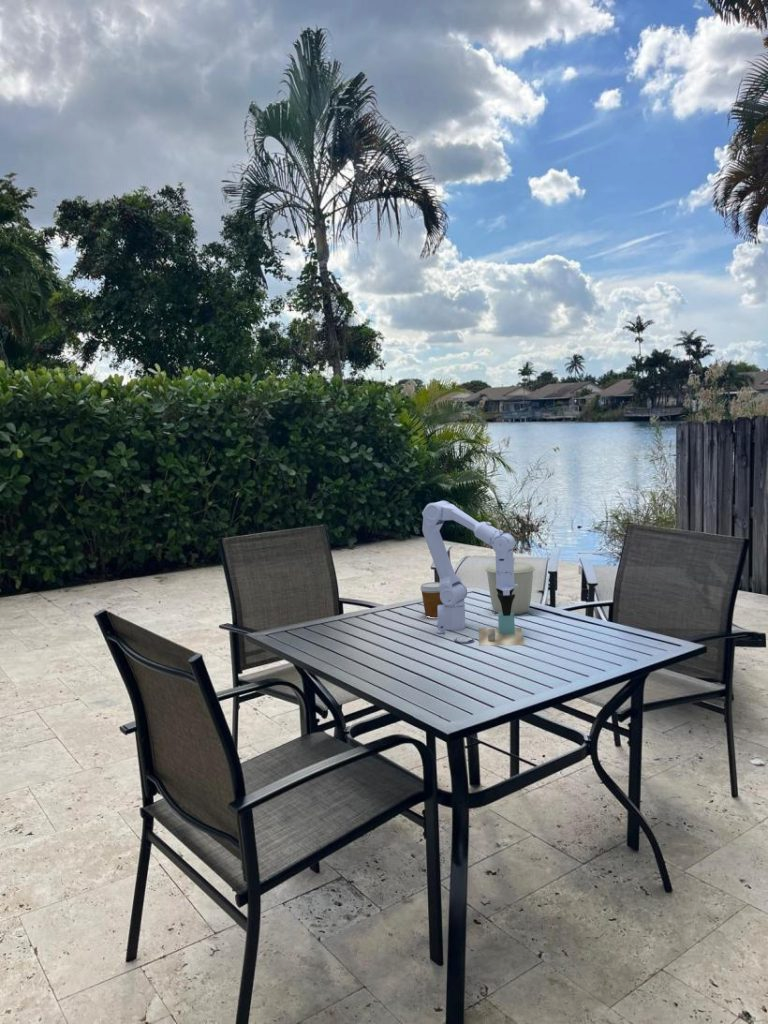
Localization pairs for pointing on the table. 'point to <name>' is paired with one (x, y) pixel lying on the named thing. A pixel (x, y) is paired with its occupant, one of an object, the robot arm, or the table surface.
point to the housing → (506, 623)
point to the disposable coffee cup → (431, 598)
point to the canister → (522, 592)
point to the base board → (500, 637)
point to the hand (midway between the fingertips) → (506, 612)
